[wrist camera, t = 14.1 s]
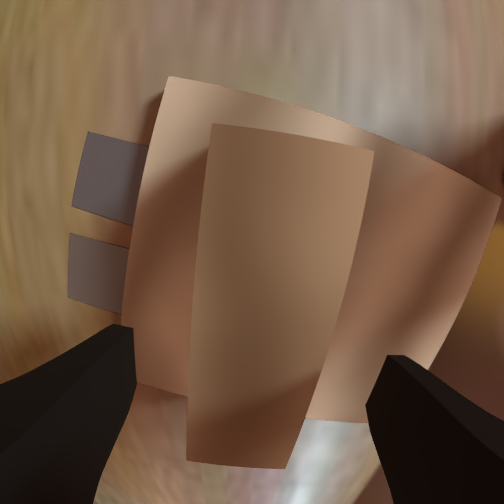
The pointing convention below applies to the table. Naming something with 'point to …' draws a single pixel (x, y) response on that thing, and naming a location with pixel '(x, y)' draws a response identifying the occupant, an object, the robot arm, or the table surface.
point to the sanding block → (267, 287)
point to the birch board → (364, 261)
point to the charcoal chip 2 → (97, 273)
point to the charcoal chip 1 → (110, 177)
